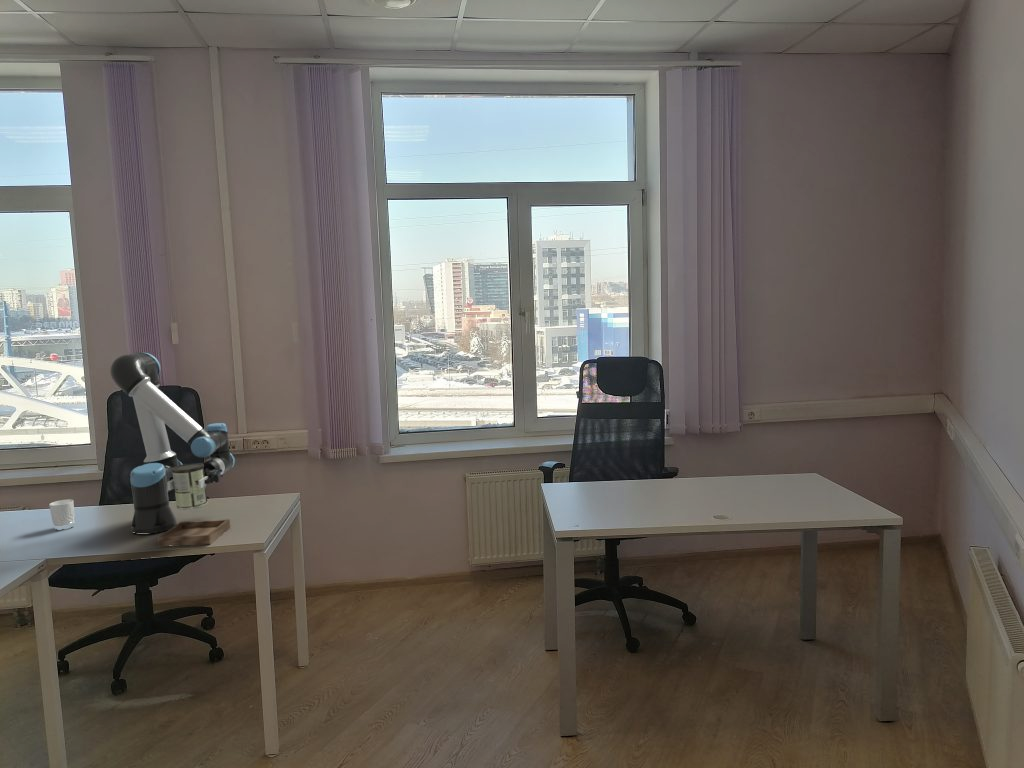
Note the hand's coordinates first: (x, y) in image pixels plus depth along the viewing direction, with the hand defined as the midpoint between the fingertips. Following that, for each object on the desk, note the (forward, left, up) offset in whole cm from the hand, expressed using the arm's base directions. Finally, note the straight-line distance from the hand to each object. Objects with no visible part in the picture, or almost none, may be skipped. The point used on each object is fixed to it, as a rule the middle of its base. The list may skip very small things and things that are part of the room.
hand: (184, 485), depth 260 cm
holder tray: (0, +4, -20) cm, 20 cm away
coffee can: (0, +4, -9) cm, 10 cm away
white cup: (-59, +24, -20) cm, 67 cm away
